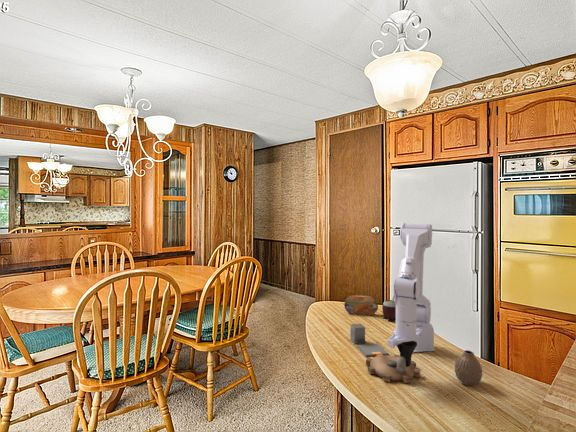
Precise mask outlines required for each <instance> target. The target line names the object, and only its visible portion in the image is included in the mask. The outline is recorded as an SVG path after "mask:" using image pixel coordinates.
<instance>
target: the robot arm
mask: <svg viewBox="0 0 576 432" xmlns="http://www.w3.org/2000/svg"><path fill="white" fill-rule="evenodd" d="M399 236H400V240H401V242H402V244H403V246H404V247H405V254H404V255H405V256H404V258H402V259H401V260H400V262H399V268H398V269H399V270H398V273H397V278H396V279H395V280H394V282H393V296H394V301H395V303H396V321H395V329H394V330H392V335H391V336H390V337H389V338H387V340H386V342H387V343H386V346H387V347H390V348H392V349H394V348H396V347H397V349H398V351H399V355H400V357H404V358H406V367H408V366H410V364H411V361H412V356H413V354H414V353H422V352H423V353H424V352H434V351H435V350H436V349H435V348H434V340H435V331H434V327H433V325H432V323H431V316H432V306H431V300H429V299H428V298H427V296H425V295H424V294H423V288H424V287H423V286H424V284H423V283H424V281H423V280H424V260H425V259H424V256H425V255H424V254H425V251H426V249H428V248H431V246H432V243H433V242H432V241H433V240H432V238H433V225H432V224H431V223H405V222H403V223H402V224H401V225H400V230H399Z"/></svg>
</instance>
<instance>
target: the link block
mask: <svg viewBox="0 0 576 432" xmlns="http://www.w3.org/2000/svg"><path fill="white" fill-rule="evenodd" d="M350 342H351V343H353V345H364V344H366V327H365V326H364V325H363V324H362V323H350Z"/></svg>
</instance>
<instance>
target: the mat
mask: <svg viewBox="0 0 576 432" xmlns="http://www.w3.org/2000/svg"><path fill="white" fill-rule="evenodd" d="M356 348H357V349H358V350H359V351H360V352H361V353H362V355H364V356H365V358H369V357H376V354H382V355H389V352H388V351H387V350H386V349H385V348H384V347H382V346H381V345H380V344H379V343H367V344H366V343H365V344H356ZM389 356H390V355H389Z"/></svg>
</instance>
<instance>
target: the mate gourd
mask: <svg viewBox="0 0 576 432" xmlns="http://www.w3.org/2000/svg"><path fill="white" fill-rule="evenodd" d="M382 316H383V319H384V320H387V322H389V323H390V322H391V321H395V322H396V303H395V297H394V295H393V296H392V299H385V300H384V301H383V303H382Z"/></svg>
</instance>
